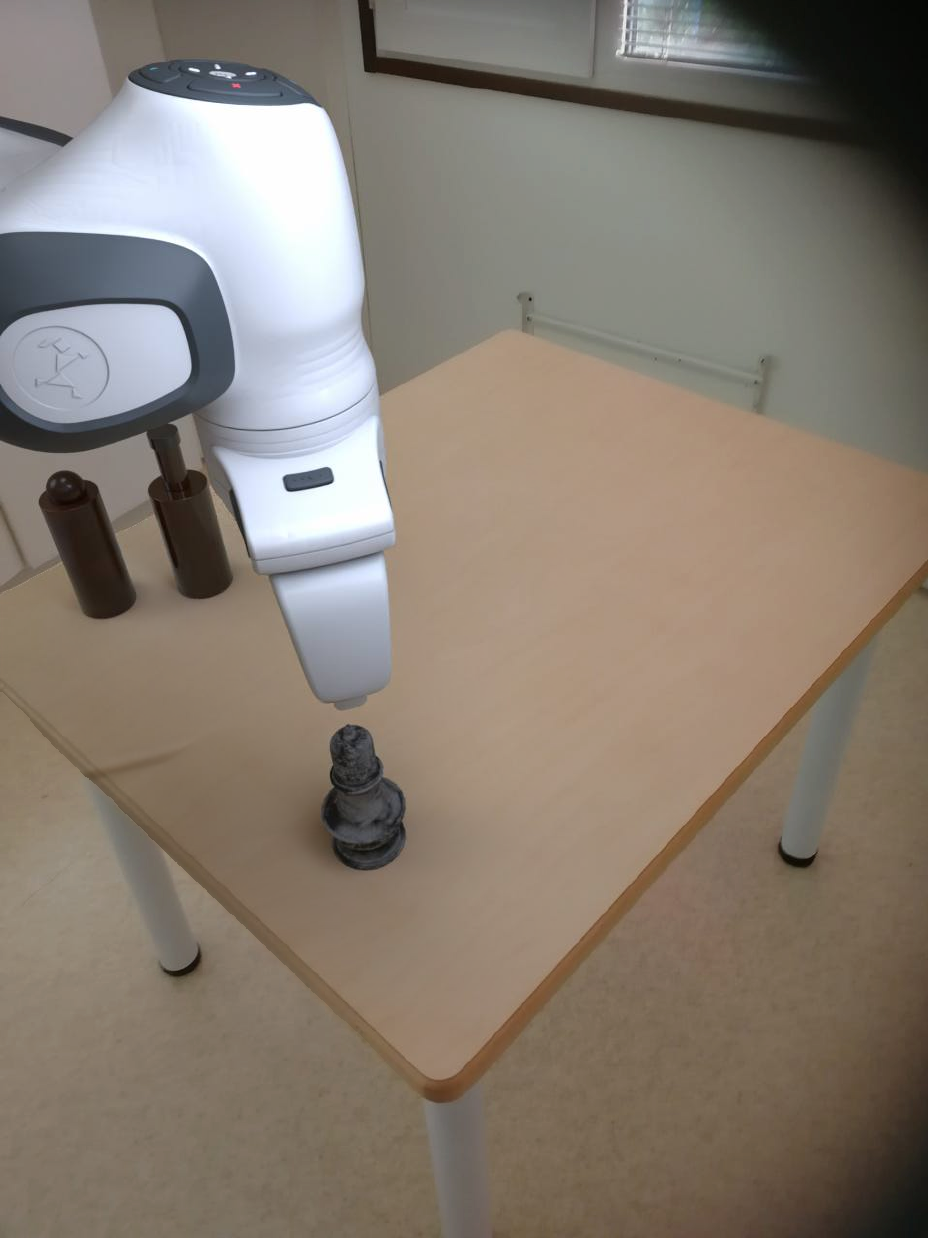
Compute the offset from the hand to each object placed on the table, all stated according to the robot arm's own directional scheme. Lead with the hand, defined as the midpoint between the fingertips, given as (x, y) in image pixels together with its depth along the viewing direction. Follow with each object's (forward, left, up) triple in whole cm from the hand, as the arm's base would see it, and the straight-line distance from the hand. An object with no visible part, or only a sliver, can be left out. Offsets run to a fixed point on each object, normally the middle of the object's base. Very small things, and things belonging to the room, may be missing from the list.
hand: (334, 644), depth 56 cm
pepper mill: (-18, +34, -19) cm, 43 cm away
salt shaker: (0, 0, -19) cm, 19 cm away
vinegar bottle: (-9, +34, -19) cm, 40 cm away
